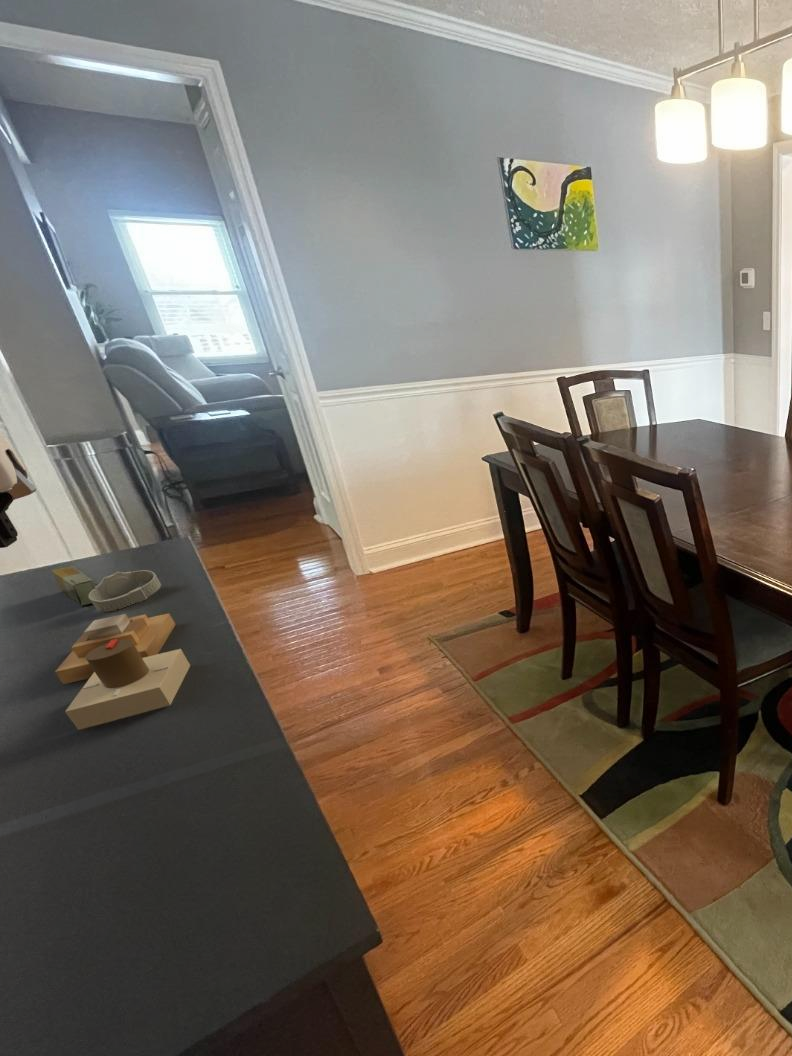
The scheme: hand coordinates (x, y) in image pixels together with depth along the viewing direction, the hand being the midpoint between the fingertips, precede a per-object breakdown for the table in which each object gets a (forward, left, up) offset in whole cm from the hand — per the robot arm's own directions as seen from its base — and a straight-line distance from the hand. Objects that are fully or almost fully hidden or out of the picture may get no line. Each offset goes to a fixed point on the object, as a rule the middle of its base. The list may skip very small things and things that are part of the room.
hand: (3, 544), depth 76 cm
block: (+3, +3, -20) cm, 21 cm away
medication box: (-10, +31, -20) cm, 39 cm away
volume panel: (+9, -12, -20) cm, 25 cm away
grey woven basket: (-1, +24, -20) cm, 32 cm away
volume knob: (+9, -12, -17) cm, 22 cm away
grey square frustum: (+3, +3, -16) cm, 17 cm away
